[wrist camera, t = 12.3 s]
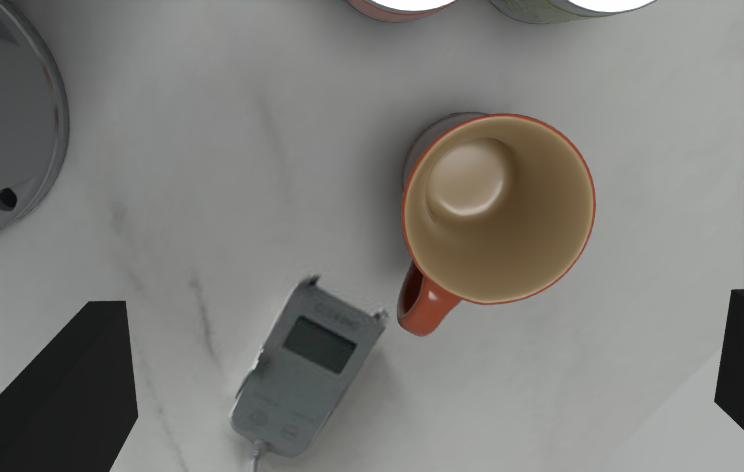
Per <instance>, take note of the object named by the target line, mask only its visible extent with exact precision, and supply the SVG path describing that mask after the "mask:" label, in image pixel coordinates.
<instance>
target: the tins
mask: <svg viewBox="0 0 744 472" xmlns="http://www.w3.org/2000/svg"><path fill="white" fill-rule="evenodd" d="M347 1H348V2H349V3H350V4H351V5H352V6H353V7H354V8H356V9H357V10H358V11H360V12H361V13H363V14H365V15H367V16H369V17H371V18H374V19H376V20H380V21H385V22H407V21H412V20H416V19H419V18H422V17H425V16H427V15H429V14H432V13H434V12H436V11H438V10H441V9H443V8H445V7H447V6H449V5H451V4H453V3H454V2H456V1H457V0H347ZM490 1H491V2H492V3H493V4H494V5H495V6H496V7H497V8H498V9H499V10H500V11H502V12H503V13H504V14H506V15H508V16H509V17H511V18H513V19H516V20H519V21H522V22H526V23H533V24H543V23H559V22H567V21H575V20H583V19H590V18H598V17H605V16H610V15H615V14H619V13H624V12H629V11H634V10H637V9H640V8H643V7H645V6H647V5H649V4H651V3H653V2H655V1H657V0H490Z"/></svg>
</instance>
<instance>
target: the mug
mask: <svg viewBox="0 0 744 472" xmlns="http://www.w3.org/2000/svg"><path fill="white" fill-rule="evenodd" d="M402 188H403V198H402V206H401V222H402V230H403V235H404V239H405V242H406V245H407V248H408V250H409V253H410V255H411V257H412V262H411V265H410V268H409V270H408V272H407V275H406V277H405V280H404V282H403V285H402V288H401V291H400V294H399V298H398V303H397V320H398V323H399V324H400V326H401V327H402V328H404V329H405V330H407V331H408V332H410V333H412V334H414V335H416V336H420V337H421V336H427V335H429V334H431V333H432V332H433V331H434V330H435V329H436V328H437V327H438V325H439V324H440V323H441V321H442V320H443V319H444V317H445V316H446V315H447V314H448V313H449V312H450V311H451V310H452V309H453V308H454V307H455V306H457V305H458V304H459V303H460V301H461V300H465V301H468V302H471V303H475V304H481V305H494V304H504V303H510V302H515V301H519V300H522V299H526V298H528V297H531V296H533V295H536V294H538V293H540V292H542V291H544V290H545V289H547V288H548V287H550V286H552V285H553V284H554V283H556V282H557V281H558V280H559V279H561V278H562V277H563V276H564V275H565V274H566V273H567V272H568V271H569V270H570V269H571V267H572V266H573V265H574V264H575V262H576V261H577V260H578V258H579V257H580V255H581V253H582V252H583V250H584V248H585V246H586V244H587V242H588V239H589V237H590V234H591V231H592V227H593V223H594V218H595V208H596V200H595V189H594V184H593V180H592V177H591V174H590V171H589V168H588V166H587V164H586V162H585V160H584V158H583V157H582V155H581V153H580V152H579V151H578V149H577V148H576V147H575V145H574V144H573V143H572V142H571V141H570V140H569V139H568V138H567V137H566V136H564V135H563V134H562V133H561V132H559V131H558V130H557V129H555V128H554V127H552V126H550V125H548V124H546V123H545V122H542V121H540V120H537V119H534V118H531V117H528V116H523V115H518V114H486V113H480V112H462V113H453V114H450V115H448V116H447V117H445V118H443V119H441V120H439V121H437V122H435V123H434V124H432V125H431V126H430V127H428V128H427V129H426V130H425V131H424V132H423V133H422V134H421V135H420V136H419V137H418V138H417V140H416V141H415V142H414V144H413V145H412V147H411V149H410V151H409V153H408V155H407V158H406V160H405V164H404V168H403V174H402Z"/></svg>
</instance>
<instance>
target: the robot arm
mask: <svg viewBox="0 0 744 472" xmlns="http://www.w3.org/2000/svg"><path fill="white" fill-rule="evenodd" d="M68 130H69V117H68V105H67V99H66V94H65V90H64V86H63V82H62V79H61V76H60V73H59V71H58V68H57V66H56V64H55V61H54V59H53V57H52V55H51V53H50V51H49V50H48V48H47V46H46V45H45V43H44V41H43V40H42V38H41V37H40V35H39V34H38V33H37V31H36V30H35V29H34V27H33V26H32V25H31V24H30V23H29V21H28V20H27V19H26V18H25V17H24V16H23V15H22V14H21V13H20V12H19V11H18V10H17V9H16V8H15V7H14V6H13V5H12V4H11V3H9V2H8V1H7V0H0V230H1V229H3V228H5V227H7V226H9V225H11V224H12V223H14V222H15V221H17V220H19V219H20V218H22V217H23V216H24V215H26V214H27V213H28V212H29V211H31V210H32V209H33V208H34V207H35V206H36V205H37V204H38V203H39V202H40V201H41V200H42V198H43V197H44V196H45V195H46V193H47V192H48V190H49V189H50V187H51V186H52V184H53V183H54V181H55V179H56V177H57V175H58V173H59V170H60V168H61V165H62V162H63V160H64V156H65V152H66V148H67V141H68ZM714 402H715V403H716V404H717V405H718V406H719V407H720V408H721V409H722V410H724V411H725V412H726V413H727V414H728V415H729V416H730V417H731V418H732V419H733V420H734V421H735V422H736V423H737V424H738V425H739V426H740V427H741V428H742V429H743V430H744V289H735V290H731V296H730V303H729V309H728V316H727V322H726V329H725V335H724V341H723V348H722V355H721V361H720V367H719V373H718V380H717V386H716V393H715V399H714ZM137 418H138V410H137V401H136V391H135V382H134V373H133V364H132V355H131V346H130V336H129V327H128V318H127V309H126V301H89V302H88V303H87V304H86V305H85V306H84V307H83V308H82V309H81V310H80V311H79V312H78V313H77V314H76V315H75V316H74V317H73V318H72V319H71V320H70V322H69V323H68V324H67V325H66V326H65V327H64V328H63V329H62V330H61V331H60V332H59V333H58V334H57V335H56V336H55V337H54V338H53V339H52V340H51V341H50V343H49V344H48V345H47V346H46V347H45V348H44V349H43V350H42V351H41V352H40V353H39V354H38V355H37V356H36V357H35V358H34V359H33V360H32V361H31V363H30V364H29V365H28V366H27V367H26V368H25V369H24V370H23V371H22V372H21V373H20V374H19V375H18V376H17V377H16V378H15V379H14V380H13V381H12V382H11V384H10V385H9V386H8V387H7V388H6V389H5V390H4V391H3V392H2V393H1V394H0V472H109V471H110V469H111V467H112V465H113V463H114V461H115V460H116V458H117V456H118V454H119V452H120V450H121V448H122V446H123V444H124V443H125V441H126V439H127V437H128V435H129V433H130V431H131V429H132V427H133V426H134V424H135V422H136V420H137Z"/></svg>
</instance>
